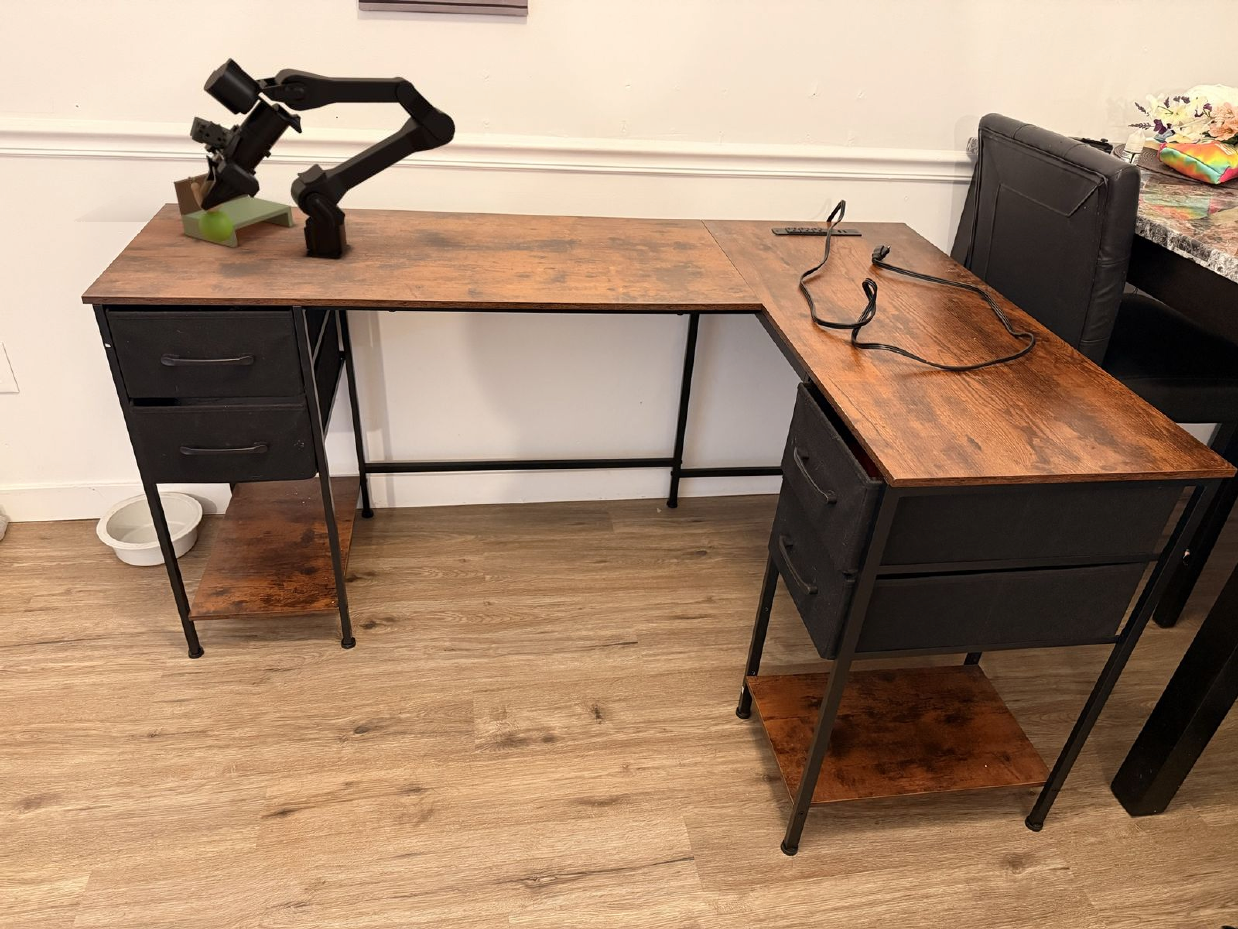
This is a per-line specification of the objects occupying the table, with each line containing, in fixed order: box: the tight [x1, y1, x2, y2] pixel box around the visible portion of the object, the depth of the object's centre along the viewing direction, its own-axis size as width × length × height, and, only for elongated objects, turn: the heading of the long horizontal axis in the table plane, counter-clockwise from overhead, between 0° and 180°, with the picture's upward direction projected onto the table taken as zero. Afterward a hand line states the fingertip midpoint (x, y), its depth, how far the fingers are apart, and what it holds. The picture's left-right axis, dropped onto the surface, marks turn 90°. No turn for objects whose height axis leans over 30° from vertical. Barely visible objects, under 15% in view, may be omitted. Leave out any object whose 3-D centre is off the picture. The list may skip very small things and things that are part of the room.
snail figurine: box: [187, 175, 233, 243], centre depth 146 cm, size 5×6×12 cm
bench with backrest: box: [173, 172, 295, 248], centre depth 164 cm, size 12×16×10 cm
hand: (201, 205), depth 145 cm, fingers closed on snail figurine, 4 cm apart
